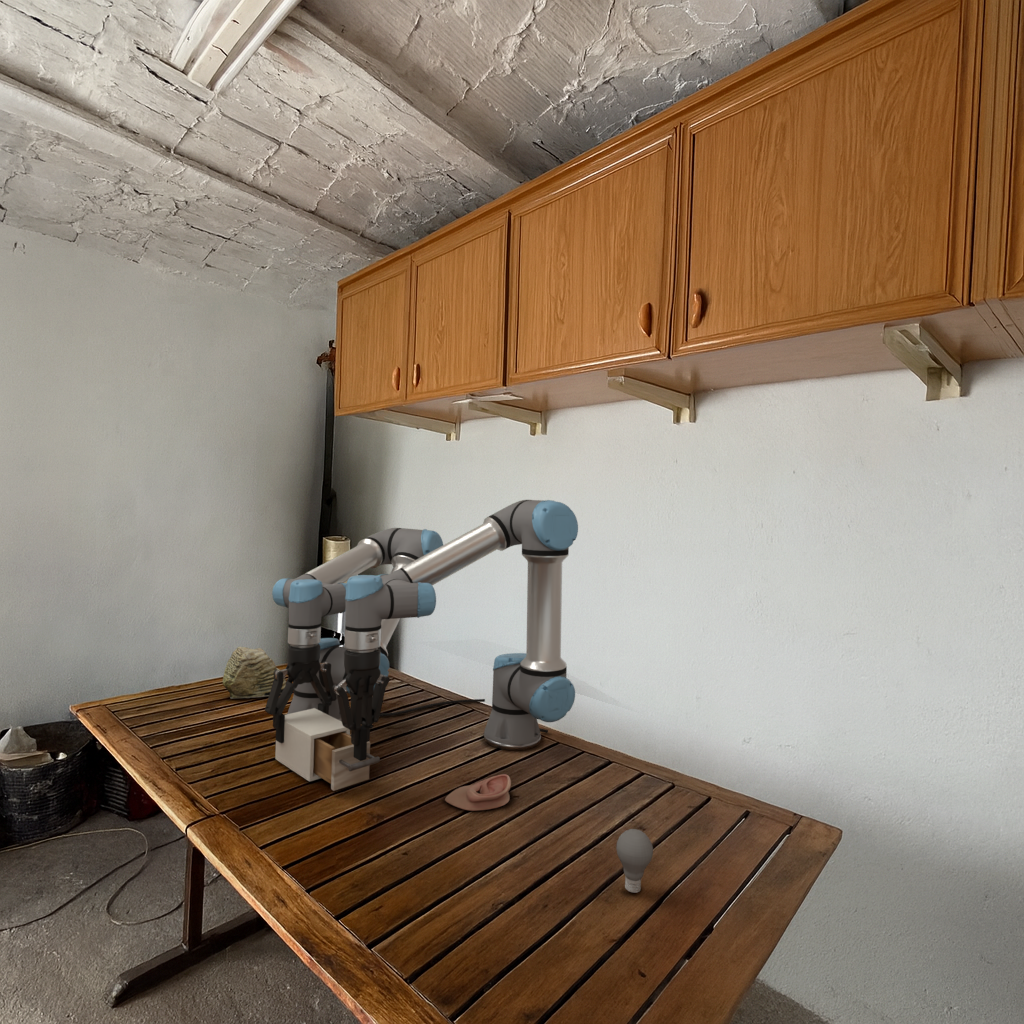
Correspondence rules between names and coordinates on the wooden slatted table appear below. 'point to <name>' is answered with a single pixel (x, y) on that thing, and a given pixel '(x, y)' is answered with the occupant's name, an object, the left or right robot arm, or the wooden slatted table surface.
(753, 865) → the wooden slatted table surface
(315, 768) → the drawer
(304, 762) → the cabinet
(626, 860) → the light bulb
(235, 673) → the fossil
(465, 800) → the anatomical model
